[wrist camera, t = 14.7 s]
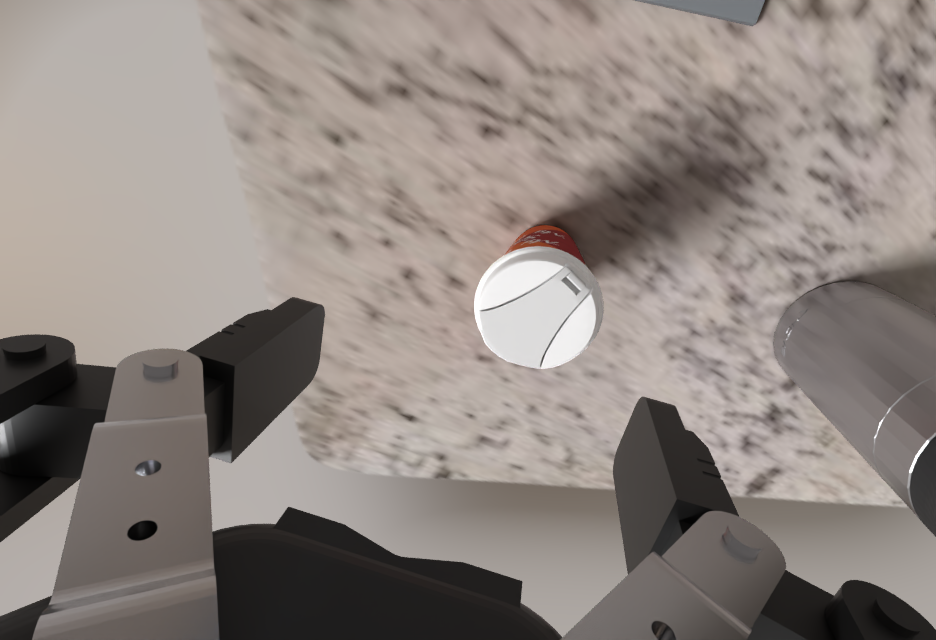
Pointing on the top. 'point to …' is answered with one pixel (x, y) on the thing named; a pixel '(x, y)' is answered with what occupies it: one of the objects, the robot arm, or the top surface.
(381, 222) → the top surface
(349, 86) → the top surface
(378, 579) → the robot arm
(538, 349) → the paper cup
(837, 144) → the top surface
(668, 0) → the mat
